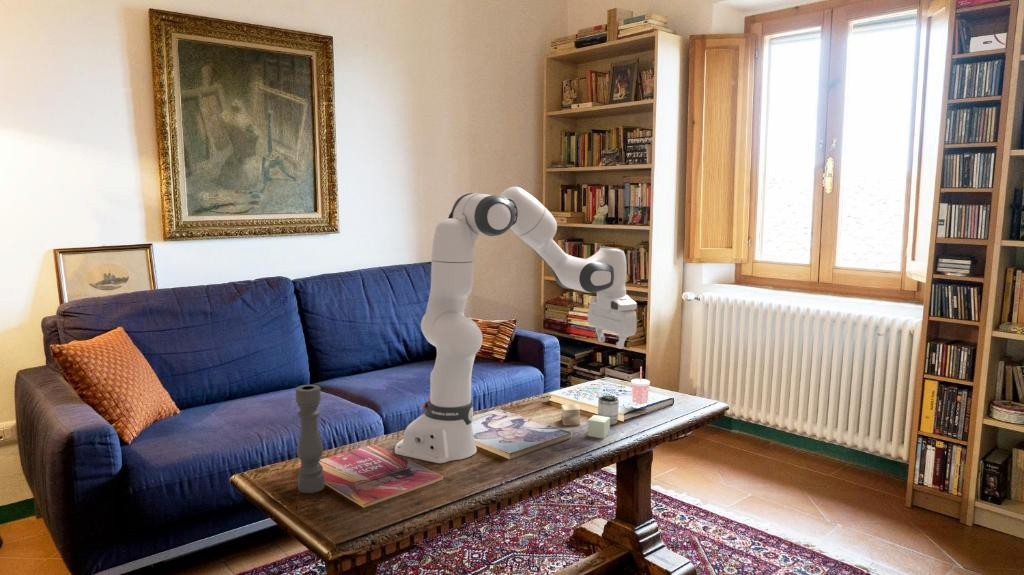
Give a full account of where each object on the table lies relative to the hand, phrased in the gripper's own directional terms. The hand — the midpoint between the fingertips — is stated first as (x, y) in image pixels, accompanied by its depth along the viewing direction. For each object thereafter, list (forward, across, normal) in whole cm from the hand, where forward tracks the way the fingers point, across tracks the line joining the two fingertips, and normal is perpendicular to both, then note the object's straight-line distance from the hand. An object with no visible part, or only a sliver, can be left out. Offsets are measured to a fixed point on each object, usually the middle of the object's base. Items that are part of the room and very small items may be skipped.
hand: (610, 344), depth 220 cm
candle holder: (+23, +5, -93) cm, 96 cm away
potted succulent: (+25, 0, 0) cm, 25 cm away
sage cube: (+24, +8, -10) cm, 27 cm away
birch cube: (+24, -5, -11) cm, 27 cm away
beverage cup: (+25, -7, +17) cm, 31 cm away
